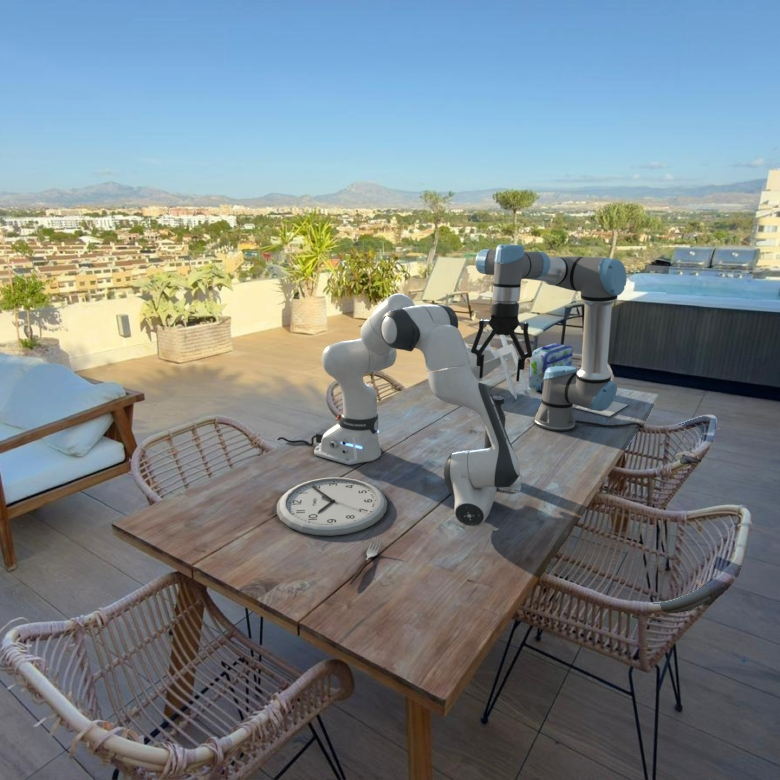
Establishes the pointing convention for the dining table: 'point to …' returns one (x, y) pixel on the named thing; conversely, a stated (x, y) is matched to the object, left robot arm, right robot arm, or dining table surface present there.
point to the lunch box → (547, 362)
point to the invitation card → (609, 411)
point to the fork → (370, 554)
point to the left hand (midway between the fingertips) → (488, 465)
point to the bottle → (502, 415)
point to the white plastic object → (497, 363)
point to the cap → (498, 400)
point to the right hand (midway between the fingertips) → (499, 378)
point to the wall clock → (331, 506)
